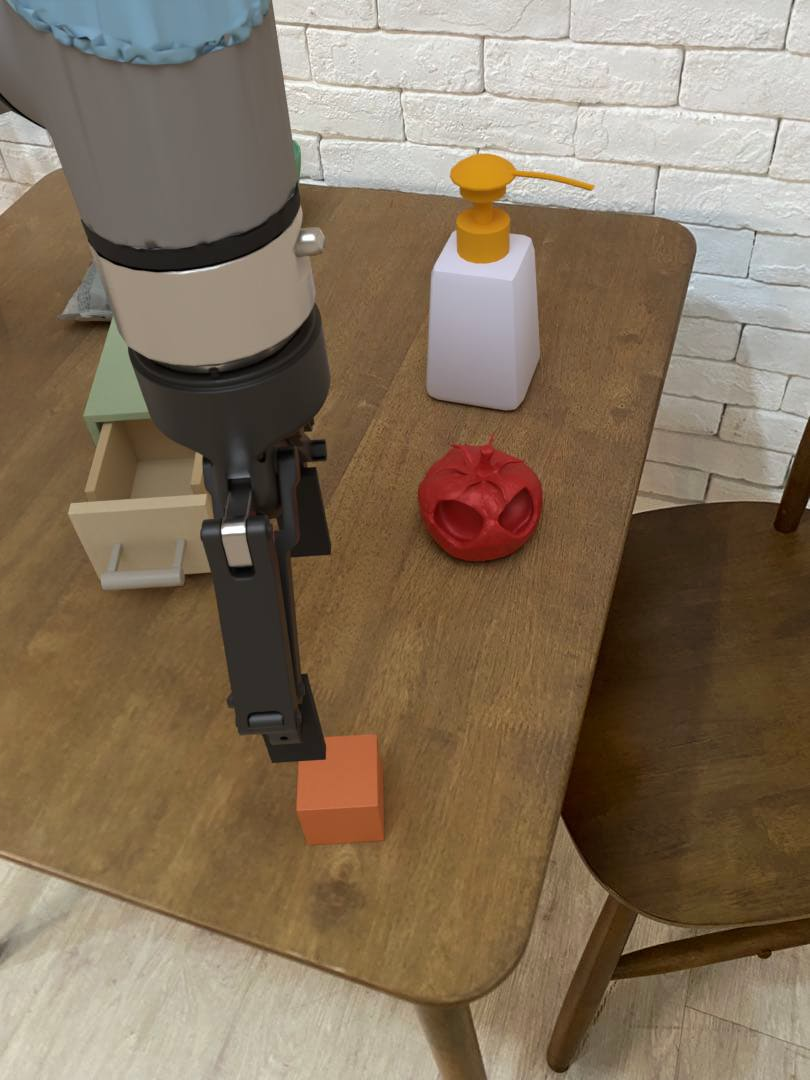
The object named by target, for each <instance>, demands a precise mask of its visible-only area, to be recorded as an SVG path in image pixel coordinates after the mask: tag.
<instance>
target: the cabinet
mask: <svg viewBox="0 0 810 1080" xmlns="http://www.w3.org/2000/svg"><path fill="white" fill-rule="evenodd" d="M82 418H83V420H84V422H85V425H86V428H87V430H88V432H89V434H90V436H91V439H92V441H93V444H94V447H95V449H96V448H97V444H98V441H99V437H100V433H101V430H102V426H103V423H104V422H109V421H123V420H137V419H151V417H150V414H149V412H148V409H147V406H146V403H145V400H144V398H143V395H142V392H141V389H140V386H139V383H138V381H137V378H136V375H135V372H134V369H133V367H132V364H131V361H130V358H129V354H128V346H127V344H126V343H125V341H124V340H123V338H122V337H121V335H120V334H119V332H118V329H117V326H116V323H115V320H114V317H113V318H112V321H110V325H109V329H108V331H107V334H106V338H105V341H104V345H103V348H102V351H101V355H100V358H99V361H98V365H97V368H96V371H95V375H94V377H93V382H92V385H91V388H90V391H89V395H88V398H87V401H86V404H85V408H84V411H83V415H82Z"/></svg>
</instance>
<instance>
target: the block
mask: <svg viewBox="0 0 810 1080" xmlns="http://www.w3.org/2000/svg"><path fill="white" fill-rule="evenodd" d="M324 739H325V743H326V760H313V761H298V765H297V784H296V786H297V787H296V805H295V811H296V814H297V818H298V820H299V823H300V825H301V829H302V832H303V835H304V838H305V841H306V843H307V845H308V846H314V845H315V846H316V845H332V844H349V843H351V844H352V843H366V842H367V843H368V842H383V841H385V805H384V801H385V799H384V797H385V795H384V769H383V768H384V767H383V762H382V757H381V751H380V745H379V744H380V743H379V739H378V734H377V733H369V734H353V735H336V736H324Z"/></svg>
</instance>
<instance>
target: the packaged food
mask: <svg viewBox="0 0 810 1080" xmlns="http://www.w3.org/2000/svg"><path fill="white" fill-rule="evenodd" d="M87 266H88V267H87V269H86V271H85V273H84V275H83V277H82V278H81V280H80V282H79V284H78V286H77V289H75V291H74V293H73V294H72V296H71V297H70V299H69V300H68V302H67V304H66V305H65V308H64V310H63V311H62V313H61V314H58V315H56V317H57V319H58V320H59V321H64V322H65V321H71V320H76V321H78V322H79V321H80V322H111V321H112V318H113V314H112V311H111V308H110V305H109V302H108V299H107V296H106V293H105V290H104V288H103V285H102V282H101V279H100V276H99V273H98V270H97V267H96V264H95V261H94V258H93V257H92V258H91V259H90V260H89V263H88V265H87Z"/></svg>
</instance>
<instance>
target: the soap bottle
mask: <svg viewBox="0 0 810 1080" xmlns="http://www.w3.org/2000/svg"><path fill="white" fill-rule="evenodd" d="M516 177H518V178H526V179H527V178H528V179H538V180H544V181H545V180H546V181H551V182H555V183H560V184H564V185H568V186H572V187H576V188H579V189H583V190H586V191H590V192H592V191H593V190H594V189H595V187H596V185H595V184H591V183H588V182H584V181H580V180H577V179H574V178H570V177H566V176H562V175H557V174H553V173H545V172H539V171H538V172H537V171H529V170H519V169H517V168H516V167H515V165H514V164H513V163H512V162H511V161H510V160H509V159H506V158H505V157H502V156H501V155H500V156H499V155H497V154H494V153H493V154H492V153H477V154H472V155H470V156H468V157H467V156H466V157H465V158H463V159H461V160H459V161H457V162H456V163H455V165H454V166H452V168H450V173H449V178H450V180H451V182H452V183H453V185H455V186H458V187H459V195H460V196H461V198H462V199H464V200H467V201H468V202H472V204H473V207H470V208H467V209H465V210H464V211H462V212H460V213H459V214H458V216H457V217H456V222H455V230H454V231H452V232H451V234H450V236H449V238H448V240H447V241H446V243H445V245H444V247H443V249H442V251H441V252H440V255H439V256H438V258H437V260H436V261H435V264H434V265H433V267H432V270H431V271H430V272H431V273H430V287H429V288H430V289H429V290H430V291H429V312H428V332H427V351H426V371H425V374H426V375H425V387H426V392H427V394H428V396H430V397H432V398H433V399H436V400H439V401H445V402H452V403H457V404H464V405H470V406H475V407H481V408H488V409H494V410H499V411H513V410H516V409H518V408H519V406H520V405H521V404H522V403H523V401H524V400H525V397H526V395H527V392H528V390H529V387H530V384H531V382H532V379H533V377H534V373H535V372H536V368H537V366H538V363H539V361H540V358H541V344H540V325H539V324H540V323H539V309H538V308H539V307H538V305H539V304H538V288H537V271H536V253H535V247H534V244H533V241H532V238H531V237H529V236H527V235H525V234H518V233H511V217H510V215H509V214H508V211H507V212H506V210H503V209H501V208H499V207H495V206H494V202H496V201H498V200H500V199H502V198H503V197H504V196H505V195H506V194H507V186H508V185H510V184H511V183H512V182H513V181H514V180H515V179H516Z"/></svg>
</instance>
